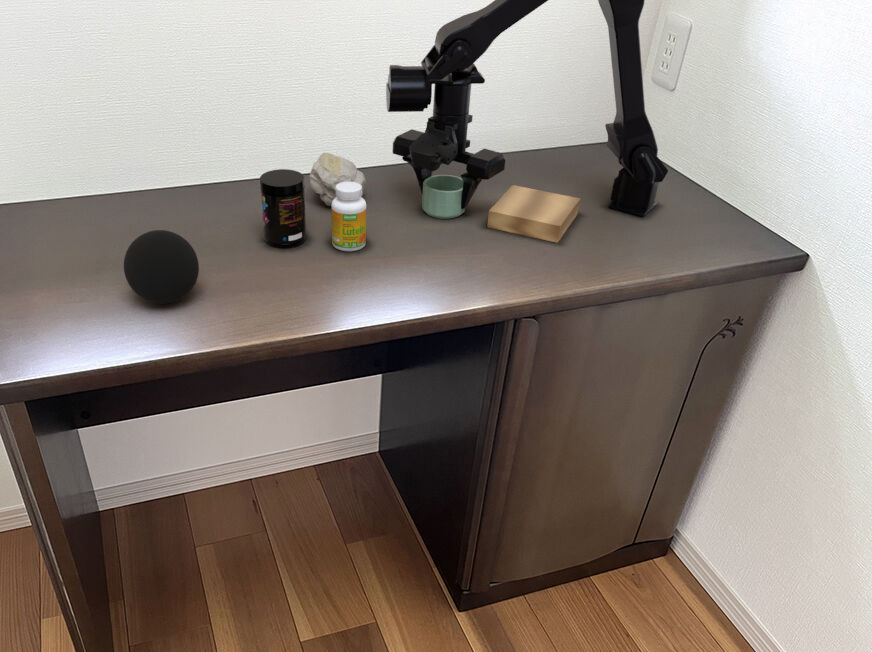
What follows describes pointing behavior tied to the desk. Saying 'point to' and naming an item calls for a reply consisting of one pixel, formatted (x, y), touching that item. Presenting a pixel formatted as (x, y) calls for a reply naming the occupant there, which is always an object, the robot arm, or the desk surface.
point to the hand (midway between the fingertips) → (444, 202)
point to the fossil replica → (333, 176)
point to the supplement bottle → (348, 217)
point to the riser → (533, 213)
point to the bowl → (442, 196)
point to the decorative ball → (161, 266)
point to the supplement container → (283, 207)
